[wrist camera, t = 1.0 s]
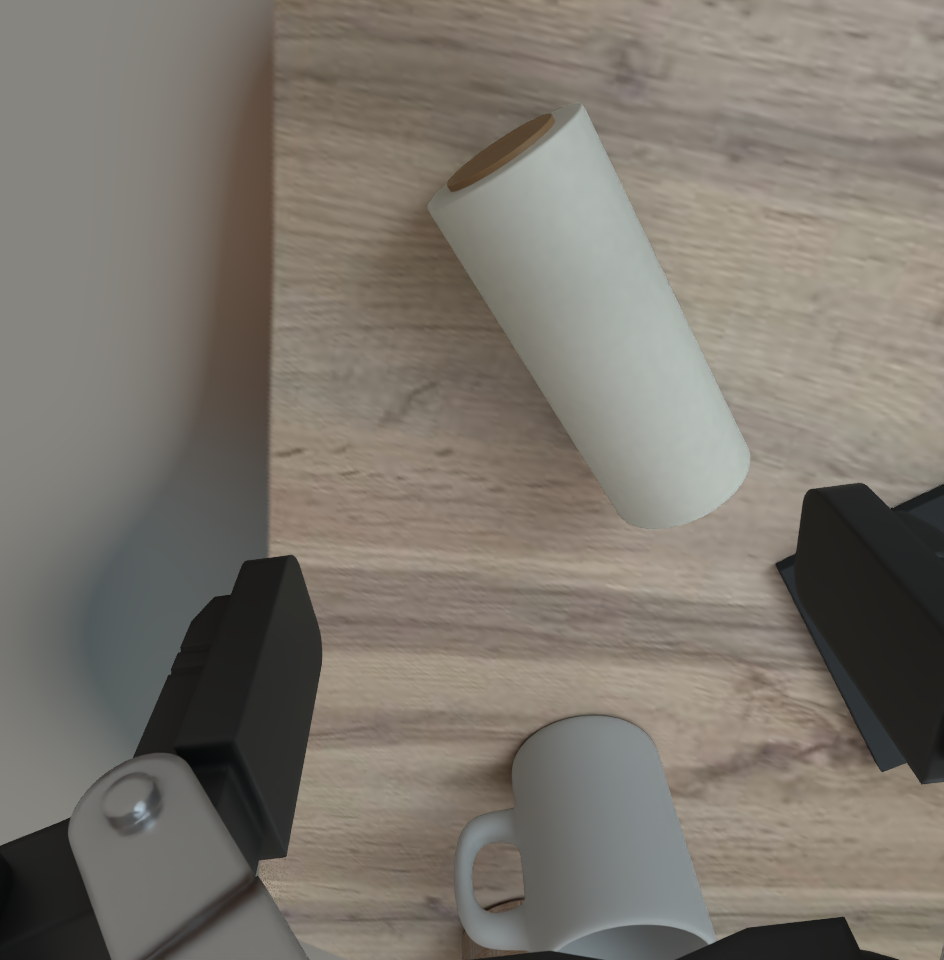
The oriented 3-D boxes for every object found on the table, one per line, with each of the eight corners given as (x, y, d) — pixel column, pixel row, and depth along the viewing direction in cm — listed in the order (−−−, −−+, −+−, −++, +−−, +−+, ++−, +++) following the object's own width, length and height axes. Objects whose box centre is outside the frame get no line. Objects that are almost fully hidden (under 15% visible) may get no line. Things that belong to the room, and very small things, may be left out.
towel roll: (563, 91, 24) (595, 100, 19) (722, 417, 30) (777, 485, 26) (424, 187, 25) (421, 217, 20) (605, 480, 32) (635, 555, 27)
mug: (659, 705, 39) (730, 910, 30) (655, 802, 44) (716, 1008, 34) (442, 728, 40) (444, 939, 30) (459, 822, 44) (466, 1033, 34)
